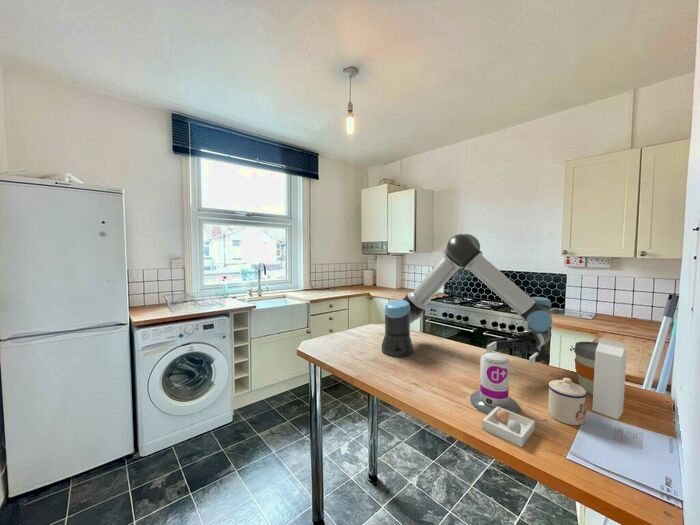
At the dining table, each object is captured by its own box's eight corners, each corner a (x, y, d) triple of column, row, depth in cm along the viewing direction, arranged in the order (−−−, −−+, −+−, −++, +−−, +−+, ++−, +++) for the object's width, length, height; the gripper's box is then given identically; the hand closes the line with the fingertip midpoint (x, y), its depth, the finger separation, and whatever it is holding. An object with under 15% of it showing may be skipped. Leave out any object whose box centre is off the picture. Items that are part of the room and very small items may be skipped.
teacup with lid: (583, 430, 80) (586, 389, 79) (544, 417, 86) (546, 379, 85) (587, 411, 89) (589, 374, 88) (551, 400, 95) (552, 366, 94)
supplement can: (510, 410, 89) (512, 362, 87) (481, 406, 91) (482, 359, 90) (505, 397, 96) (507, 352, 95) (478, 393, 99) (479, 350, 98)
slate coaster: (462, 403, 94) (462, 400, 94) (481, 388, 104) (481, 386, 104) (508, 423, 84) (508, 420, 84) (525, 404, 93) (525, 402, 93)
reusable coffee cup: (572, 391, 101) (574, 349, 100) (572, 377, 111) (574, 338, 110) (622, 403, 93) (624, 357, 92) (617, 387, 103) (619, 345, 102)
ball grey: (505, 432, 79) (505, 421, 79) (510, 427, 81) (510, 416, 81) (518, 438, 76) (518, 426, 76) (522, 432, 78) (523, 421, 78)
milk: (618, 420, 85) (622, 346, 83) (591, 410, 90) (595, 340, 88) (623, 412, 88) (627, 341, 87) (597, 403, 93) (601, 336, 91)
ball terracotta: (494, 420, 84) (495, 410, 83) (499, 416, 86) (499, 405, 86) (506, 426, 81) (507, 415, 81) (511, 421, 83) (511, 410, 83)
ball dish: (482, 428, 82) (482, 419, 81) (497, 414, 88) (497, 406, 88) (521, 447, 74) (521, 437, 74) (534, 430, 81) (534, 421, 81)
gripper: (567, 360, 105) (550, 379, 91) (495, 341, 123) (471, 355, 109) (569, 340, 104) (551, 356, 90) (496, 324, 123) (472, 335, 109)
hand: (507, 355), depth 100 cm, fingers open, 13 cm apart
